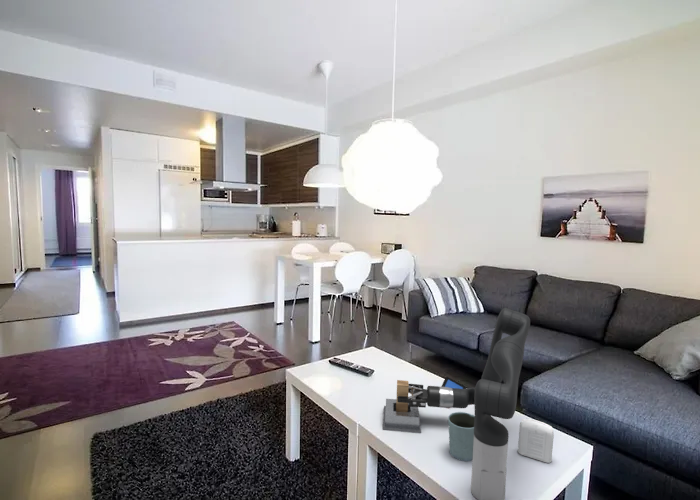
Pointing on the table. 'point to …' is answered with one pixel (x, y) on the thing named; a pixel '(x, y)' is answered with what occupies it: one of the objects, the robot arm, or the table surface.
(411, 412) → the metal socket
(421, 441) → the table surface
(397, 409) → the oak pin
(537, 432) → the photo printer
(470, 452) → the teal cup
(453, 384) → the handheld game console
